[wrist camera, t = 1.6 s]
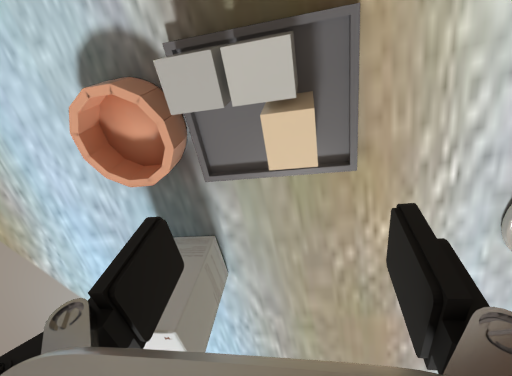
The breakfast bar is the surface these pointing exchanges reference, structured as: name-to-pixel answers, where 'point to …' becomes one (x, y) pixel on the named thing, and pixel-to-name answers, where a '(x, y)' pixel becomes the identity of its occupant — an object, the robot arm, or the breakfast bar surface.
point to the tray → (309, 79)
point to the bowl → (127, 131)
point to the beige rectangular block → (290, 132)
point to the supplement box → (192, 298)
